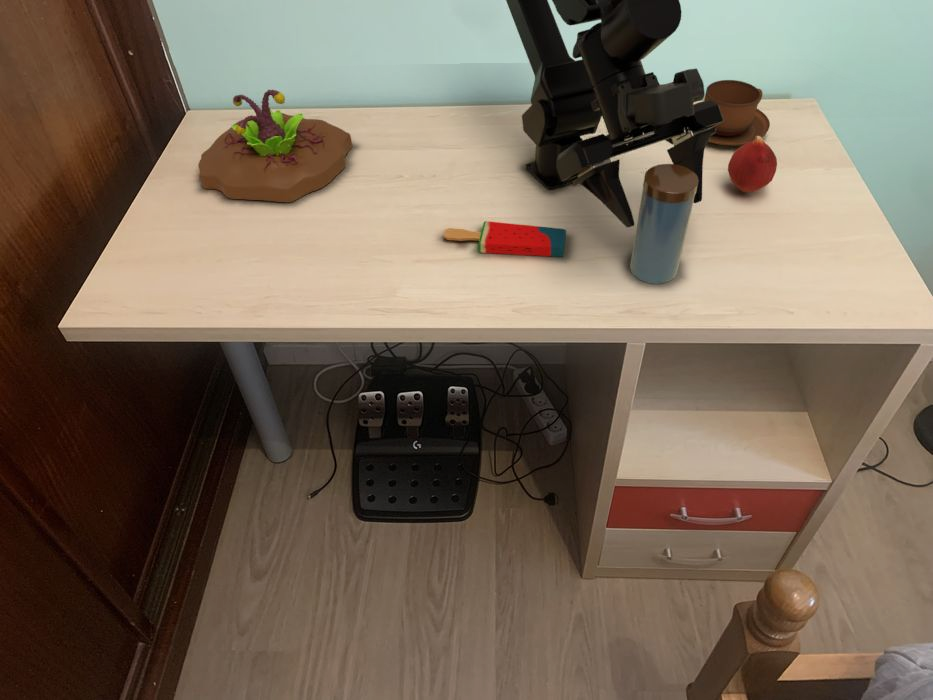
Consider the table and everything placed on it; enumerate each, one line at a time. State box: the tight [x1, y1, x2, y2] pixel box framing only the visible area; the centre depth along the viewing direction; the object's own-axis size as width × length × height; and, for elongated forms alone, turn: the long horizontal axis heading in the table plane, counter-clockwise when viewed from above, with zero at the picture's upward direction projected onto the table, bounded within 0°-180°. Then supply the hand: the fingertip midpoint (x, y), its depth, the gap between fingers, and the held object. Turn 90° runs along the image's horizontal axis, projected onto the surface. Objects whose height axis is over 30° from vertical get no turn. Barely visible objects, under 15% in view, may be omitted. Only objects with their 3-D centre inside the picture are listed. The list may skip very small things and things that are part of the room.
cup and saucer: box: [693, 79, 771, 146], centre depth 105 cm, size 12×12×6 cm
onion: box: [727, 136, 778, 194], centre depth 94 cm, size 6×6×8 cm
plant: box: [197, 89, 353, 203], centre depth 101 cm, size 20×20×11 cm
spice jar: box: [629, 163, 698, 285], centre depth 82 cm, size 6×6×12 cm
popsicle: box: [442, 220, 567, 258], centre depth 91 cm, size 4×2×15 cm
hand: (665, 214), depth 81 cm, fingers open, 9 cm apart
